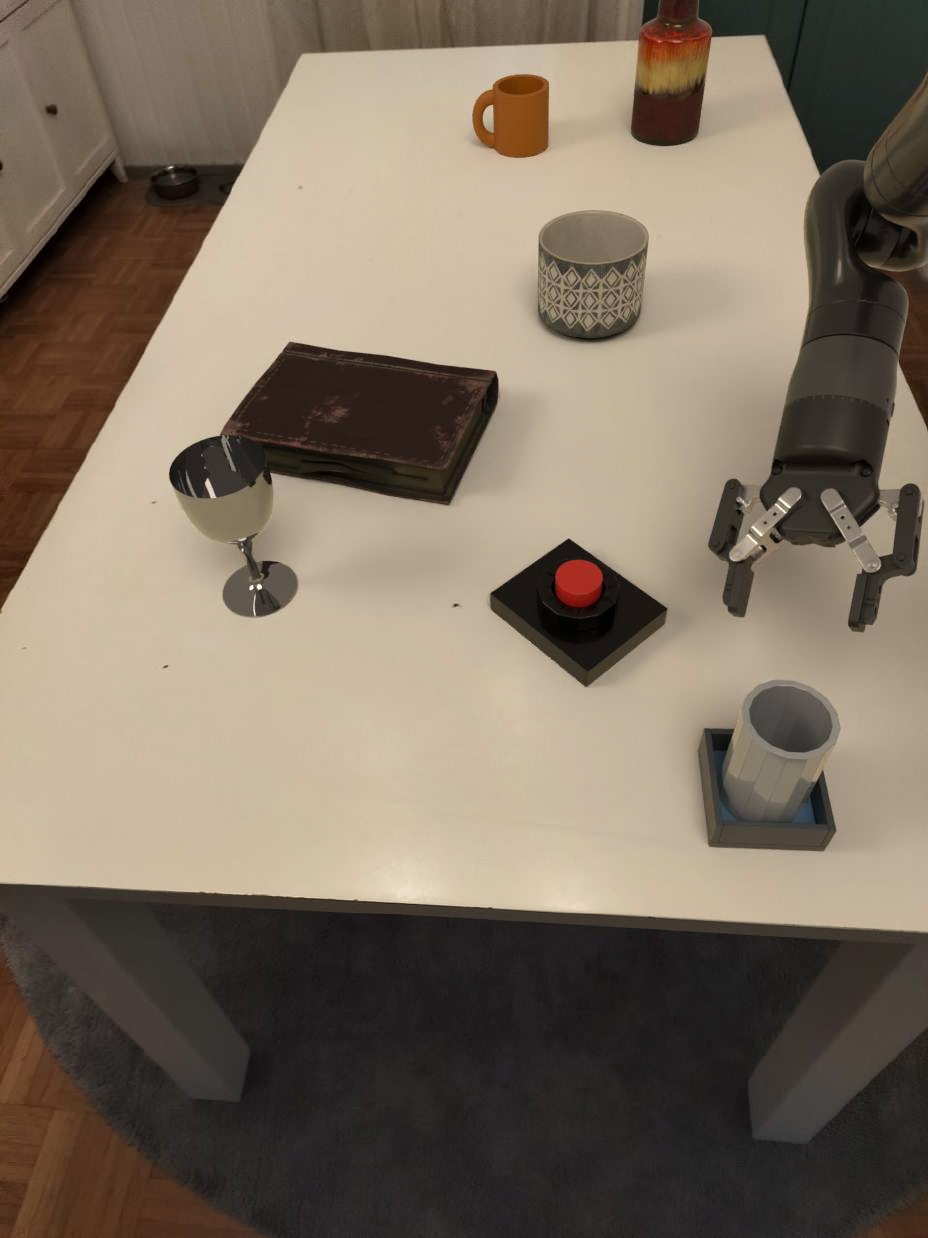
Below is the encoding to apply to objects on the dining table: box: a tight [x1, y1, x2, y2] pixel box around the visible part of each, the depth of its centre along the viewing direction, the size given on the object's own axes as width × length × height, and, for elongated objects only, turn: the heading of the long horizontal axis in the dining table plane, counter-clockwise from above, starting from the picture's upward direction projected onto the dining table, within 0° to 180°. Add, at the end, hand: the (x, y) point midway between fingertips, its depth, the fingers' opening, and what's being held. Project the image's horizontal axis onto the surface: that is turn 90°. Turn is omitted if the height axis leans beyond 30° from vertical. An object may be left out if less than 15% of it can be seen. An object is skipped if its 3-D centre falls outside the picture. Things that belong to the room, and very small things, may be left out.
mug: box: [471, 73, 550, 158], centre depth 140 cm, size 9×12×9 cm
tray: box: [697, 727, 837, 852], centre depth 65 cm, size 8×8×3 cm
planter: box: [537, 209, 650, 339], centre depth 106 cm, size 13×13×10 cm
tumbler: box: [718, 679, 841, 823], centre depth 62 cm, size 6×6×10 cm
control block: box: [489, 538, 668, 688], centre depth 78 cm, size 12×10×4 cm
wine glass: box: [168, 435, 299, 618], centre depth 78 cm, size 8×8×15 cm
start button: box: [555, 560, 603, 607], centre depth 76 cm, size 4×4×2 cm
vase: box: [630, 0, 713, 147], centre depth 136 cm, size 11×11×20 cm
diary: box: [219, 341, 500, 505], centre depth 95 cm, size 19×25×5 cm
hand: (793, 621), depth 64 cm, fingers open, 8 cm apart
